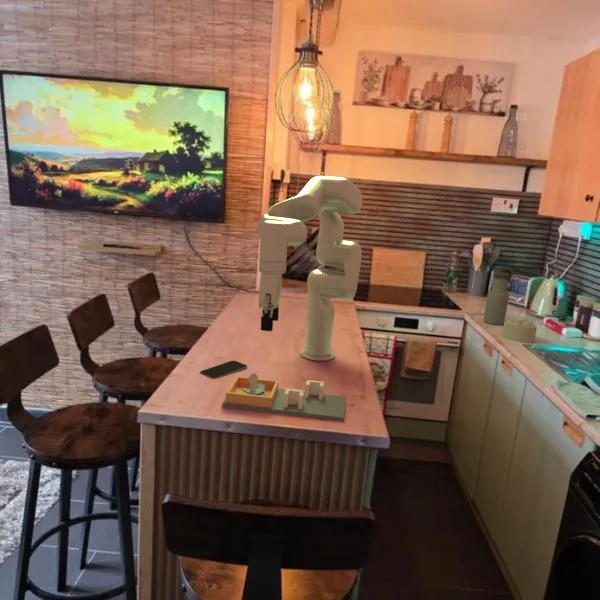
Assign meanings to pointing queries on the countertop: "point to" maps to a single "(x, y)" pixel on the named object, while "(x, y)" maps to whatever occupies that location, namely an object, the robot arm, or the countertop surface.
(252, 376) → the pacifier
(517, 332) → the lumpy-topped squat cylinder
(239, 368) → the smartphone
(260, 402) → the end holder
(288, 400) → the board
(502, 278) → the water bottle
